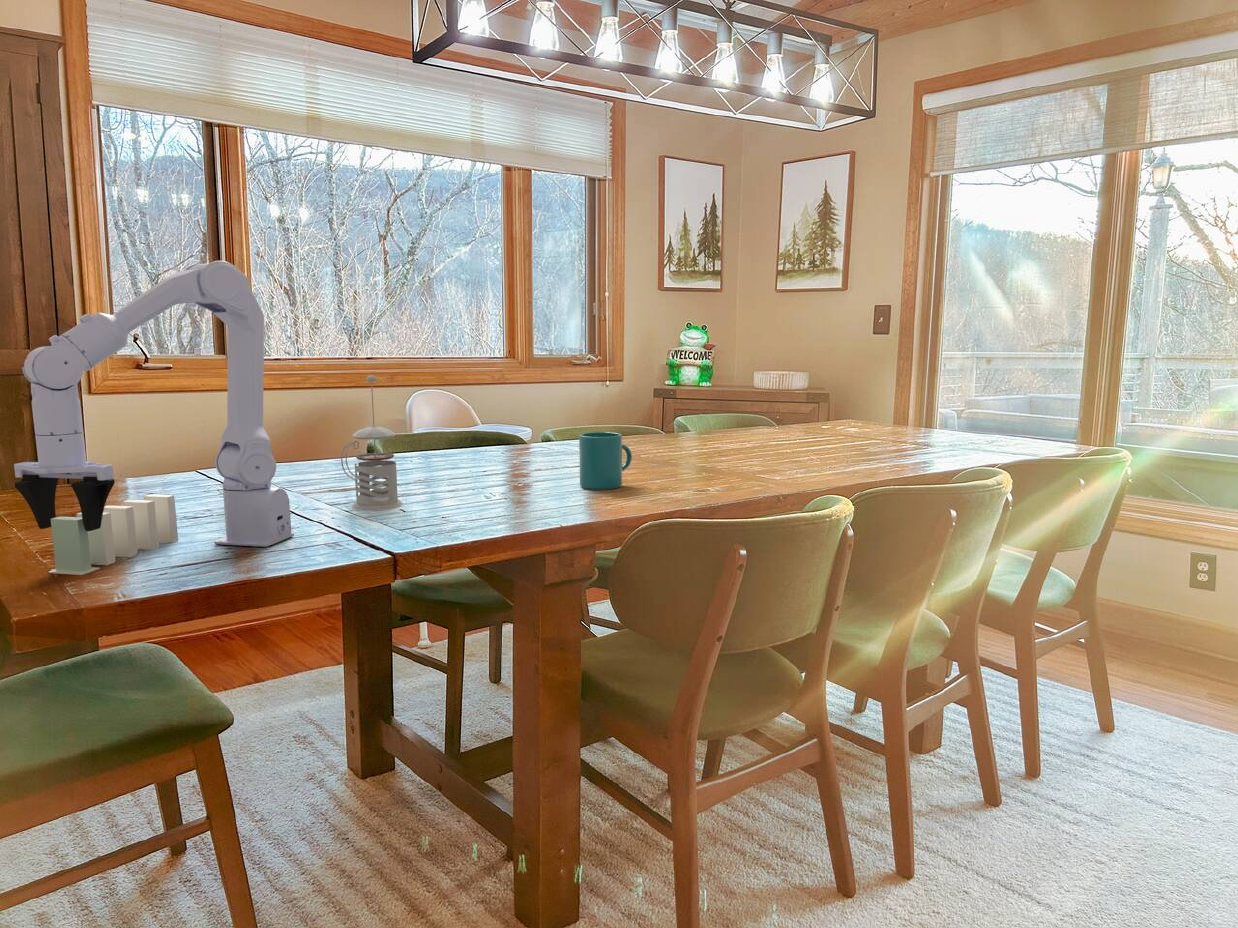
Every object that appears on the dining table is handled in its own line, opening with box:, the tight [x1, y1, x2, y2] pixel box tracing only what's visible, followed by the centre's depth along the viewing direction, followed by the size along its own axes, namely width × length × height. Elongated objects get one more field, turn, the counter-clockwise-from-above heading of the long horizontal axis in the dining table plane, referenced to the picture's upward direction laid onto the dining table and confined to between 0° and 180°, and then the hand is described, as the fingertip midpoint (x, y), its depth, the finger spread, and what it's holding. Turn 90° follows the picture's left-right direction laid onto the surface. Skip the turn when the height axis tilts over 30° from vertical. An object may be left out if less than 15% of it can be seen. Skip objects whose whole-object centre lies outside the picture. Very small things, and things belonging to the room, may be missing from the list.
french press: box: [340, 375, 404, 511], centre depth 170 cm, size 10×12×25 cm
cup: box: [578, 431, 633, 491], centre depth 190 cm, size 9×12×11 cm
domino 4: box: [122, 499, 159, 551], centre depth 139 cm, size 2×4×8 cm, turn 78°
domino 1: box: [50, 516, 92, 572], centre depth 126 cm, size 2×4×8 cm, turn 78°
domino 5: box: [143, 494, 179, 544], centre depth 144 cm, size 2×4×8 cm, turn 78°
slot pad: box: [48, 566, 101, 576], centre depth 127 cm, size 6×3×1 cm, turn 78°
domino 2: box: [76, 512, 116, 566], centre depth 131 cm, size 2×4×8 cm, turn 78°
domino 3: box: [103, 505, 139, 558], centre depth 135 cm, size 2×4×8 cm, turn 78°
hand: (70, 528), depth 126 cm, fingers open, 7 cm apart
